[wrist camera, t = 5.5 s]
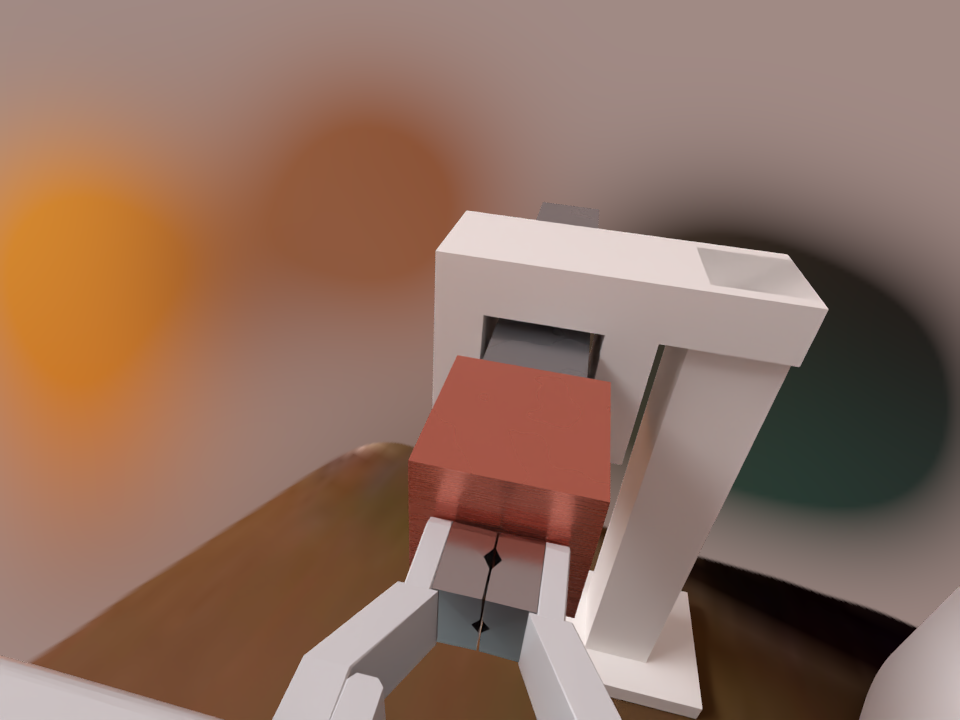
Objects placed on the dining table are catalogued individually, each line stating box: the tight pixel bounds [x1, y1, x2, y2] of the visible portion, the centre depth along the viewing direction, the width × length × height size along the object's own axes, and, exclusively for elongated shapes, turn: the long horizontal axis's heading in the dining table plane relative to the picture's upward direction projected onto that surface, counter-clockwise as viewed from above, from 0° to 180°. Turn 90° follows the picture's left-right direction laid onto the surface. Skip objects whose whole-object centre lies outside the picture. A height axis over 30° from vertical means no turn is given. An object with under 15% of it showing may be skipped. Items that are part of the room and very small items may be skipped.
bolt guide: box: [432, 211, 828, 719], centre depth 22 cm, size 14×6×21 cm, turn 78°
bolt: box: [408, 202, 611, 618], centre depth 20 cm, size 4×21×4 cm, turn 168°
